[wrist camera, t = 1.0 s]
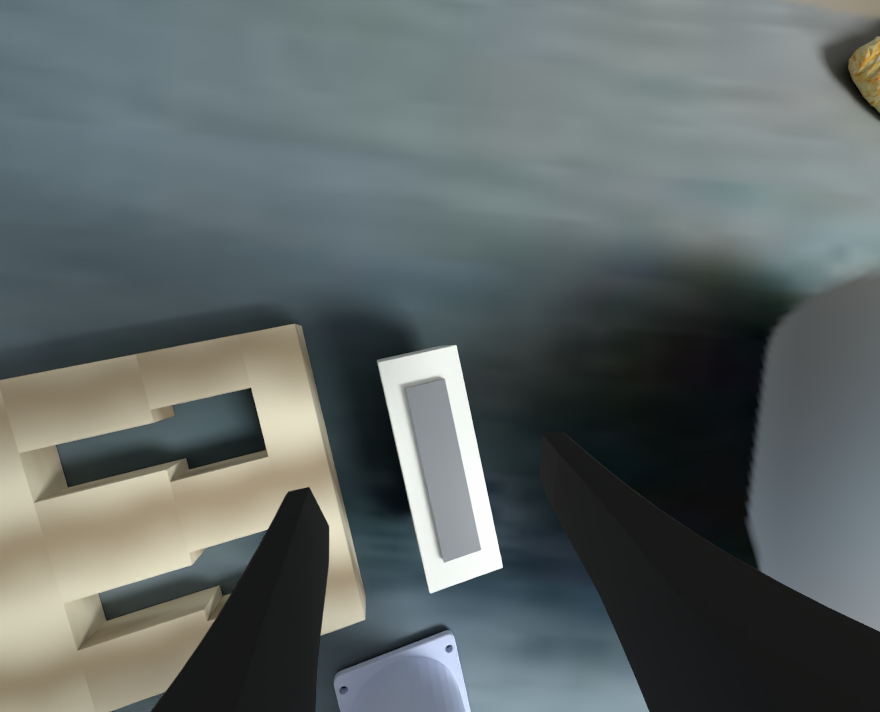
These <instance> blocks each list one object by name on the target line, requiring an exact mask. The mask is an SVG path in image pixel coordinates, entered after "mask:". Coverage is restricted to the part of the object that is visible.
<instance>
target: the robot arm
mask: <svg viewBox="0 0 880 712" xmlns="http://www.w3.org/2000/svg"><path fill="white" fill-rule="evenodd" d="M540 479H541V482H542V484H543V486H544V489H545V491H546V494H547V496H548V499H549V501H550V503H551V506H552V508H553V510H554V512H555V514H556V516H557V517H558V519H559V521H560V523H561V525H562V527H563V529H564V530H565V532H566V534H567V536H568V538H569V539H570V541H571V543H572V545H573V547H574V549H575V550H576V552H577V554H578V556H579V558H580V559H581V561H582V563H583V565H584V567H585V569H586V570H587V572H588V574H589V576H590V578H591V579H592V581H593V583H594V585H595V587H596V589H597V591H598V593H599V595H600V597H601V599H602V602H603V604H604V606H605V608H606V611H607V613H608V615H609V617H610V619H611V622H612V624H613V626H614V628H615V631H616V633H617V635H618V637H619V640H620V642H621V644H622V647H623V649H624V651H625V654H626V656H627V658H628V661H629V663H630V665H631V668H632V670H633V672H634V675H635V677H636V680H637V682H638V685H639V687H640V689H641V692H642V694H643V697H644V699H645V702H646V704H647V707H648V709H649V712H880V632H879V631H877V630H875V629H873V628H870V627H868V626H866V625H864V624H862V623H860V622H858V621H855V620H854V619H851V618H849V617H847V616H845V615H843V614H841V613H839V612H837V611H834V610H832V609H830V608H828V607H826V606H824V605H822V604H820V603H818V602H816V601H815V600H813V599H811V598H809V597H807V596H805V595H803V594H801V593H799V592H797V591H795V590H793V589H791V588H789V587H787V586H785V585H783V584H782V583H780V582H778V581H776V580H774V579H773V578H771V577H769V576H767V575H765V574H764V573H762V572H760V571H758V570H757V569H755V568H753V567H751V566H750V565H748V564H746V563H744V562H742V561H741V560H739V559H737V558H735V557H734V556H732V555H730V554H728V553H727V552H725V551H723V550H722V549H720V548H718V547H717V546H715V545H714V544H712V543H710V542H709V541H707V540H705V539H704V538H702V537H701V536H699V535H697V534H696V533H694V532H693V531H691V530H690V529H688V528H687V527H685V526H684V525H682V524H680V523H679V522H678V521H676V520H675V519H673V518H672V517H670V516H669V515H667V514H666V513H664V512H663V511H662V510H660V509H659V508H657V507H656V506H655V505H653V504H652V503H650V502H649V501H648V500H646V499H645V498H644V497H642V496H641V495H640V494H638V493H637V492H636V491H634V490H633V489H632V488H630V487H629V486H628V485H626V484H625V483H624V482H623V481H621V480H620V479H619V478H618V477H616V476H615V475H614V474H612V473H611V472H610V471H609V470H607V469H606V468H605V467H604V466H603V465H601V464H600V463H599V462H598V461H597V460H595V459H594V458H593V457H592V456H591V455H589V454H588V453H587V452H586V451H585V450H584V449H582V448H581V447H580V446H579V445H578V444H577V443H575V442H574V441H573V440H572V439H571V438H570V437H569V436H567V435H566V434H565V433H564V432H562V431H558V432H553V433H549V434H544V435H543V438H542V452H541V466H540ZM328 568H329V525H328V523H327V521H326V519H325V517H324V515H323V513H322V511H321V509H320V507H319V505H318V503H317V501H316V499H315V497H314V495H313V493H312V491H311V489H310V487H306V488H302V489H297V490H293V491H288V493H287V494H286V495H285V497H284V499H283V501H282V503H281V505H280V507H279V509H278V511H277V513H276V515H275V517H274V518H273V520H272V522H271V524H270V526H269V528H268V530H267V532H266V534H265V535H264V537H263V539H262V541H261V543H260V545H259V547H258V548H257V550H256V552H255V554H254V555H253V557H252V559H251V561H250V562H249V564H248V566H247V568H246V570H245V571H244V573H243V575H242V577H241V578H240V580H239V582H238V583H237V585H236V587H235V588H234V590H233V591H232V593H231V595H230V596H229V598H228V600H227V601H226V603H225V604H224V606H223V608H222V609H221V611H220V613H219V614H218V616H217V617H216V619H215V621H214V622H213V624H212V625H211V627H210V628H209V630H208V631H207V633H206V634H205V636H204V637H203V639H202V640H201V642H200V643H199V645H198V646H197V648H196V649H195V651H194V652H193V654H192V655H191V657H190V658H189V659H188V661H187V662H186V664H185V665H184V667H183V668H182V670H181V671H180V672H179V674H178V675H177V677H176V678H175V679H174V681H173V682H172V683H171V685H170V686H169V688H168V689H167V690H166V692H165V693H164V694H163V696H162V697H161V698H160V700H159V701H158V703H157V704H156V705H155V707H154V708H153V709H152V711H151V712H315V703H316V677H317V664H318V653H319V644H320V636H321V628H322V619H323V611H324V603H325V595H326V586H327V577H328ZM448 645H451V646H450V647H449V648H446V646H448ZM343 686H345V687H346V688H344V689H342V688H341V687H343ZM334 688H335V692H336V696H337V700H338V705H339V709H340V712H471V711H470V706H469V702H468V697H467V693H466V688H465V684H464V679H463V675H462V670H461V666H460V661H459V657H458V652H457V648H456V643H455V639H454V635H453V633H452V632H451V631H448V630H447V631H443V632H441V633H438V634H435V635H433V636H430V637H428V638H425V639H422V640H420V641H417V642H415V643H412V644H409V645H407V646H404V647H402V648H399V649H396V650H394V651H391V652H388V653H386V654H383V655H381V656H378V657H375V658H373V659H370V660H368V661H365V662H362V663H360V664H357V665H355V666H352V667H349V668H347V669H344V670H341V671H339V672H338V673H337V674H336V675H335V677H334Z"/></svg>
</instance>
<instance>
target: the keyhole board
mask: <svg viewBox="0 0 880 712" xmlns="http://www.w3.org/2000/svg"><path fill="white" fill-rule="evenodd" d="M247 388H251V389H252V393H253V397H254V401H255V405H256V409H257V413H258V417H259V421H260V425H261V429H262V433H263V437H264V441H265V445H266V449H267V450H264V451H260V452H256V453H252V454H248V455H244V456H240V457H236V458H232V459H228V460H224V461H220V462H217V463H213V464H209V465H205V466H201V467H197V468H193V469H189V467H188V463H187V460H186V458H185V459H180V460H176V461H172V462H168V463H164V464H160V465H156V466H152V467H148V468H144V469H140V470H136V471H132V472H128V473H124V474H120V475H116V476H112V477H108V478H104V479H100V480H96V481H92V482H88V483H84V484H80V485H76V486H72V487H68V486H67V483H66V479H65V476H64V472H63V469H62V465H61V462H60V458H59V455H58V451H57V448H56V445H57V444H62V443H66V442H71V441H75V440H80V439H84V438H88V437H93V436H97V435H102V434H106V433H110V432H115V431H119V430H124V429H128V428H132V427H137V426H141V425H146V424H150V423H154V422H157V421H160V420H163V419H166V418H169V417H172V416H175V414H174V411H173V407H172V405H175V404H179V403H184V402H188V401H193V400H197V399H202V398H206V397H211V396H216V395H220V394H225V393H229V392H234V391H238V390H243V389H247ZM306 487H310V489H311V491H312V493H313V495H314V497H315V499H316V501H317V503H318V505H319V507H320V509H321V511H322V513H323V515H324V517H325V519H326V521H327V523H328V525H329V568H328V577H327V586H326V595H325V603H324V611H323V619H322V628H321V636H322V635H324V634H327V633H330V632H333V631H335V630H338V629H341V628H344V627H347V626H349V625H352V624H355V623H358V622H360V621H363V620H365V606H366V596H365V591H364V587H363V583H362V579H361V575H360V570H359V566H358V562H357V558H356V553H355V549H354V545H353V541H352V537H351V532H350V528H349V524H348V520H347V516H346V511H345V507H344V503H343V499H342V494H341V490H340V486H339V482H338V478H337V473H336V469H335V465H334V461H333V456H332V452H331V448H330V444H329V440H328V435H327V431H326V427H325V423H324V419H323V414H322V410H321V406H320V402H319V397H318V393H317V389H316V385H315V381H314V376H313V372H312V368H311V364H310V360H309V355H308V351H307V347H306V343H305V338H304V334H303V330H302V326H300V325H297V324H291V325H285V326H280V327H275V328H270V329H264V330H259V331H254V332H249V333H244V334H238V335H233V336H228V337H223V338H217V339H212V340H207V341H202V342H197V343H191V344H186V345H181V346H176V347H170V348H165V349H160V350H155V351H150V352H144V353H139V354H134V355H129V356H123V357H118V358H113V359H108V360H103V361H97V362H92V363H87V364H82V365H76V366H71V367H66V368H61V369H56V370H50V371H45V372H40V373H35V374H29V375H24V376H19V377H14V378H9V379H3V380H0V712H111V711H113V710H116V709H119V708H122V707H124V706H127V705H130V704H133V703H136V702H138V701H141V700H144V699H147V698H149V697H152V696H155V695H158V694H161V693H163V692H166V690H167V689H168V688H169V686H170V685H171V683H172V682H173V681H174V679H175V678H176V677H177V675H178V674H179V672H180V671H181V670H182V668H183V667H184V665H185V664H186V662H187V661H188V659H189V658H190V657H191V655H192V654H193V652H194V651H195V649H196V648H197V646H198V645H199V643H200V642H201V640H202V639H203V637H204V636H205V634H206V633H207V631H208V630H209V628H210V627H211V625H212V624H213V622H214V621H215V619H216V617H217V616H218V614H219V613H220V611H221V609H222V608H223V606H224V604H225V603H226V601H227V600H228V598H229V596H230V595H231V593H230V594H227V595H224V596H222V592H221V588H220V585H218V586H215V587H212V588H209V589H206V590H203V591H199V592H196V593H193V594H190V595H187V596H184V597H180V598H177V599H174V600H171V601H168V602H165V603H162V604H158V605H155V606H152V607H149V608H146V609H143V610H139V611H136V612H133V613H130V614H127V615H124V616H120V617H117V618H114V619H111V620H108V621H106V618H105V614H104V611H103V607H102V604H101V600H100V597H99V594H98V593H101V592H104V591H107V590H111V589H114V588H117V587H121V586H124V585H127V584H131V583H134V582H137V581H141V580H144V579H147V578H150V577H154V576H157V575H160V574H164V573H167V572H170V571H174V570H177V569H180V568H184V567H187V566H190V565H192V564H193V563H194V562H195V561H196V560H197V558H198V557H199V556H200V555H201V554H202V552H203V551H204V550H205V549H206V548H207V547H210V546H214V545H217V544H220V543H224V542H227V541H230V540H234V539H237V538H241V537H244V536H247V535H251V534H254V533H258V532H261V531H264V530H268V528H269V526H270V524H271V522H272V520H273V518H274V517H275V515H276V513H277V511H278V509H279V507H280V505H281V503H282V501H283V499H284V497H285V495H286V494H287V493H288V491H293V490H297V489H302V488H306Z"/></svg>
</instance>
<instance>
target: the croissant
mask: <svg viewBox="0 0 880 712" xmlns="http://www.w3.org/2000/svg"><path fill="white" fill-rule="evenodd" d="M848 69H849V72H850V75H851V78H852V79H853V81H854V83H855V84H856V86H857V87H858V89H859V90H860V92H861V94H862V95H863V97H864V98H865V99H866V100H867V101H868V102H869V103H870V105H871V106H874V107H875V109H876V110H877V111H878V112H879V113H880V36H877V37H876V38H875V39H874V40H872V41H871V42H869V43H867V44H865V45H863V46H861V47H860V48H858V49H857V50H856V51H855V52H854V53H853V55H852V57H851V58H850V59H849V63H848Z"/></svg>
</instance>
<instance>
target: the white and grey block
mask: <svg viewBox="0 0 880 712" xmlns="http://www.w3.org/2000/svg"><path fill="white" fill-rule="evenodd" d="M377 364H378V369H379V373H380V378H381V382H382V386H383V391H384V395H385V400H386V404H387V409H388V413H389V418H390V422H391V426H392V431H393V435H394V440H395V444H396V449H397V453H398V458H399V462H400V466H401V471H402V475H403V480H404V484H405V489H406V493H407V498H408V502H409V506H410V511H411V515H412V520H413V524H414V529H415V533H416V538H417V542H418V546H419V551H420V555H421V559H422V563H423V567H424V571H425V575H426V579H427V584H428V588H429V592H430V593H433V592H436V591H438V590H441V589H444V588H447V587H450V586H452V585H455V584H458V583H461V582H464V581H466V580H469V579H472V578H475V577H478V576H480V575H483V574H486V573H489V572H491V571H494V570H497V569H500V568H503V565H502V561H501V556H500V551H499V546H498V542H497V537H496V532H495V527H494V523H493V518H492V513H491V508H490V503H489V499H488V494H487V489H486V484H485V480H484V475H483V470H482V465H481V461H480V456H479V451H478V446H477V441H476V437H475V432H474V427H473V422H472V418H471V413H470V408H469V403H468V399H467V394H466V389H465V384H464V379H463V375H462V370H461V365H460V360H459V356H458V351H457V346H456V345H449V346H438V347H433V348H429V349H424V350H419V351H415V352H410V353H406V354H401V355H397V356H392V357H388V358H383V359H379V360H377Z"/></svg>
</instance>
